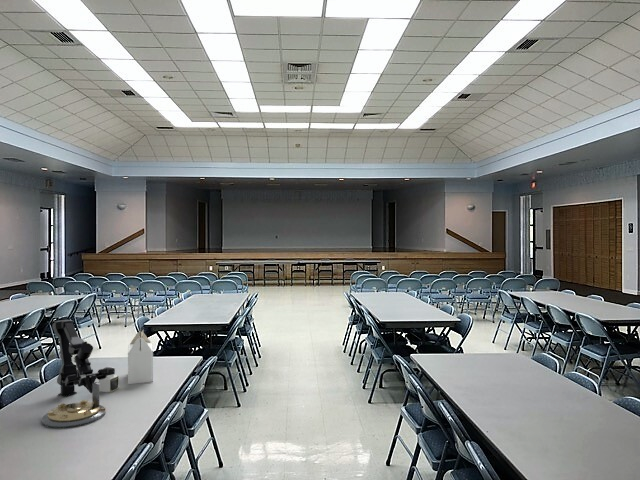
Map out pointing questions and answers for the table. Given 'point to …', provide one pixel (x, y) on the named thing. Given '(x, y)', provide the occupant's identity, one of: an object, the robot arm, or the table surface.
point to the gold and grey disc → (53, 424)
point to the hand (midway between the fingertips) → (91, 392)
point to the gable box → (140, 359)
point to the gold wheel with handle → (77, 408)
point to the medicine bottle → (109, 381)
